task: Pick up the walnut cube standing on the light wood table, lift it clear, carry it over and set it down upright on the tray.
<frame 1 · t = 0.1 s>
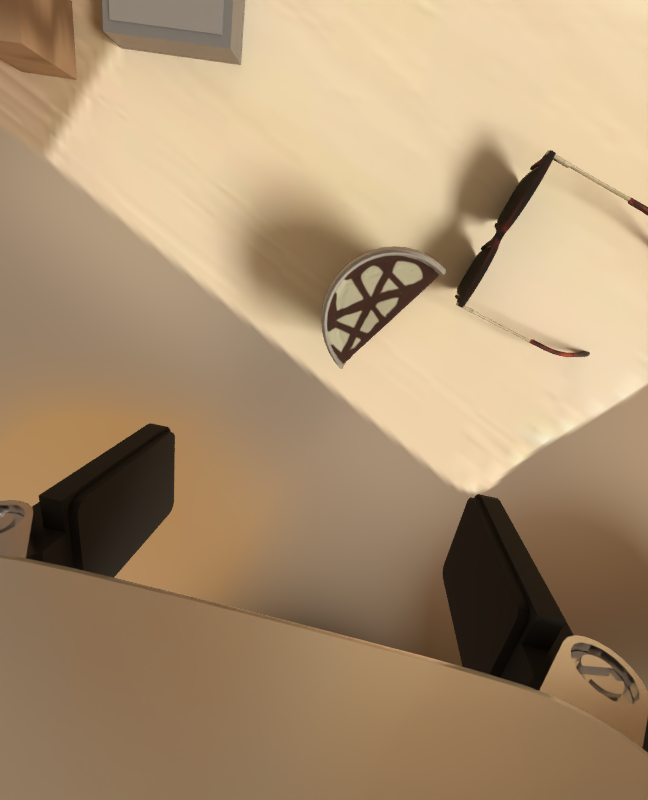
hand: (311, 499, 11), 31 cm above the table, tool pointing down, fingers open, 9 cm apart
food container: (367, 291, 39), on the table
cube: (46, 38, 35), on the table
sunglasses: (552, 273, 36), on the table
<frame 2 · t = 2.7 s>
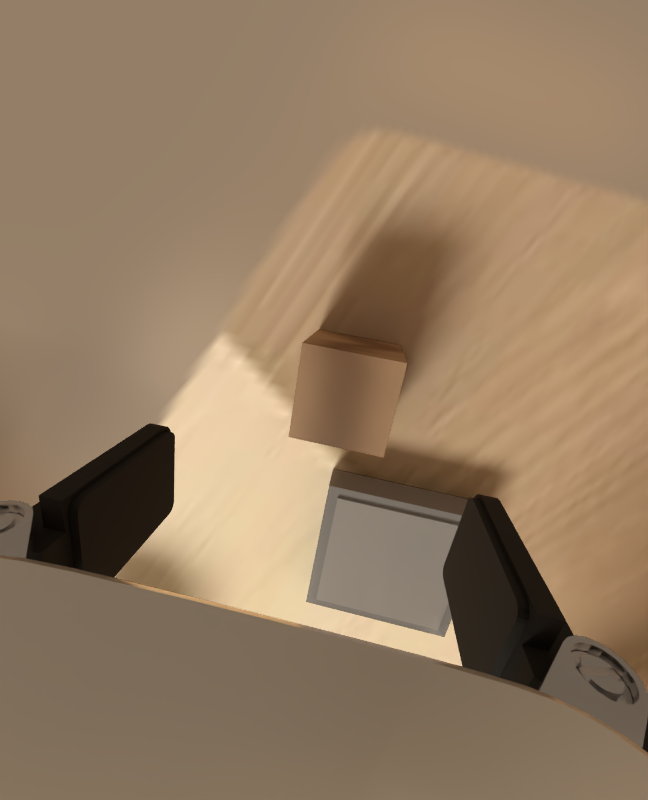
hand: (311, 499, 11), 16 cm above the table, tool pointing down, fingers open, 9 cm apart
tray: (389, 543, 31), on the table
cube: (351, 376, 26), on the table
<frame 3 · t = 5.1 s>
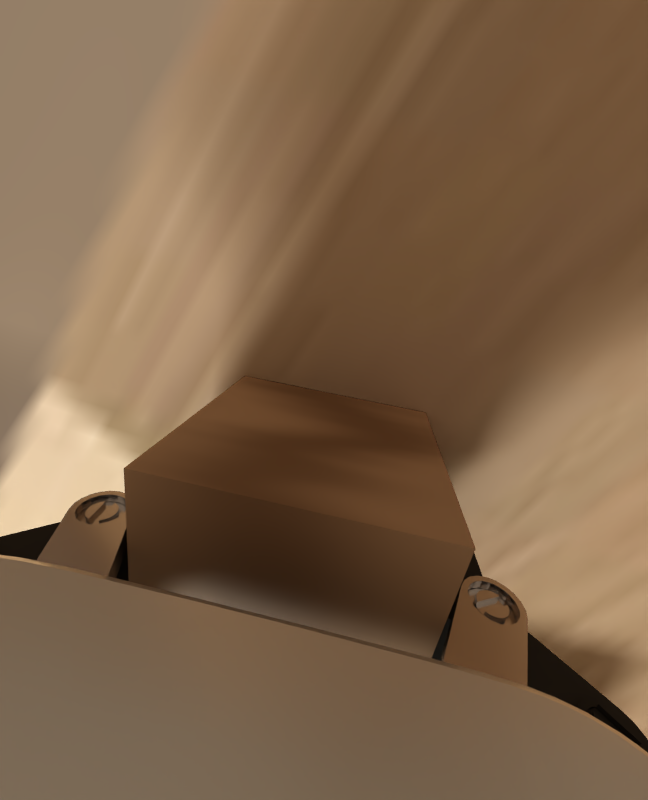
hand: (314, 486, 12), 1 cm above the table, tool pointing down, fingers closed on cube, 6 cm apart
cube: (319, 472, 12), on the table, touching gripper
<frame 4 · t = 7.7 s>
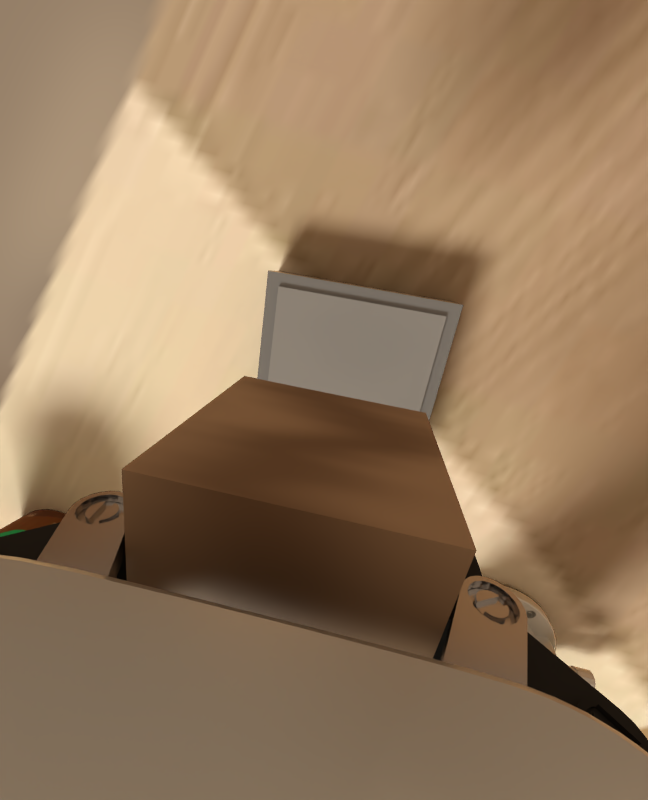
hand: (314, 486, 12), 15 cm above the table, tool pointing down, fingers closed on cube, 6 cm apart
food container: (74, 532, 35), on the table
tray: (348, 371, 26), on the table
cube: (318, 472, 12), point 14 cm above the table, touching gripper
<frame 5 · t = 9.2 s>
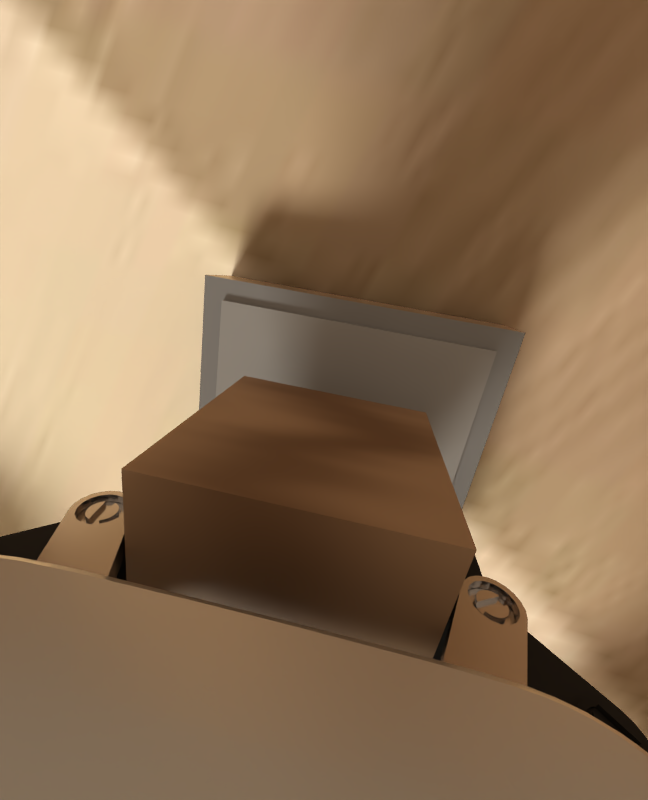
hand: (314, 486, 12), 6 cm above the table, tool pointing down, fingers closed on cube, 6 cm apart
tray: (338, 423, 17), on the table
cube: (318, 472, 12), point 5 cm above the table, touching gripper
when the fingers open (5 cm above the table, at t = 10.4 s): cube stays where it is, resting on tray.
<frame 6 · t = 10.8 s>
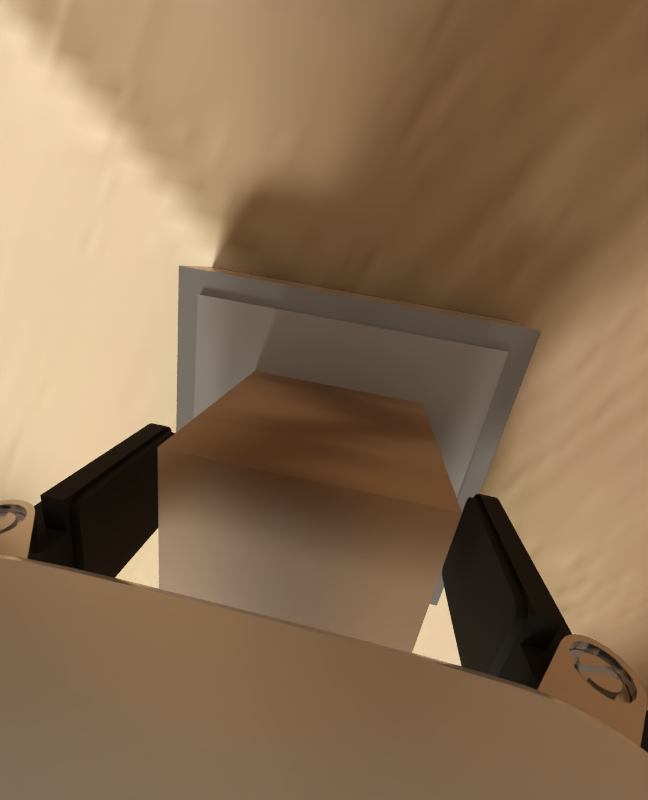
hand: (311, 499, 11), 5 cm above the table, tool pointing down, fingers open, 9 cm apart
tray: (331, 429, 16), on the table
cube: (323, 460, 13), point 3 cm above the table, touching tray
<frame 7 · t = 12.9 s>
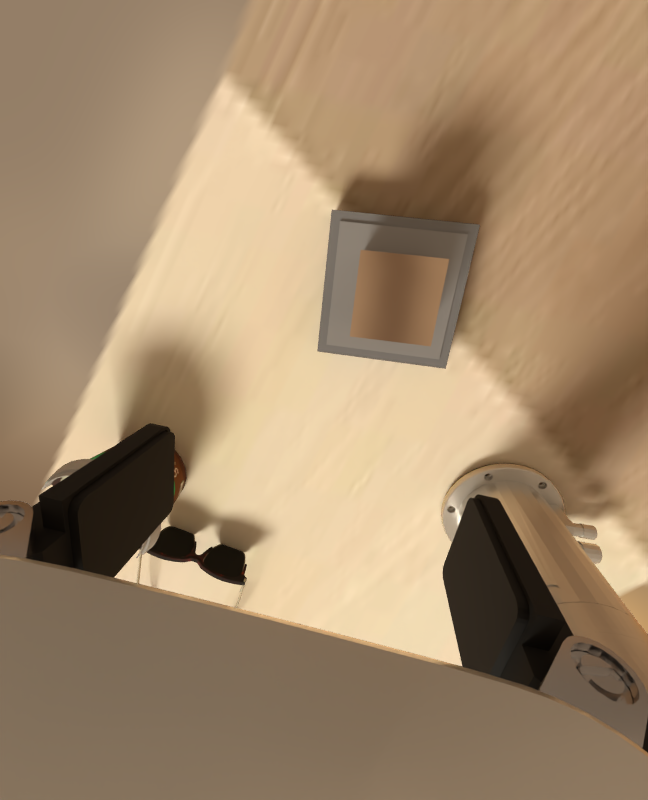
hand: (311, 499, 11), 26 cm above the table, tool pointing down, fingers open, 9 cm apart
food container: (163, 454, 43), on the table
tray: (390, 291, 33), on the table
cube: (392, 294, 31), point 3 cm above the table, touching tray
sunglasses: (198, 576, 50), on the table
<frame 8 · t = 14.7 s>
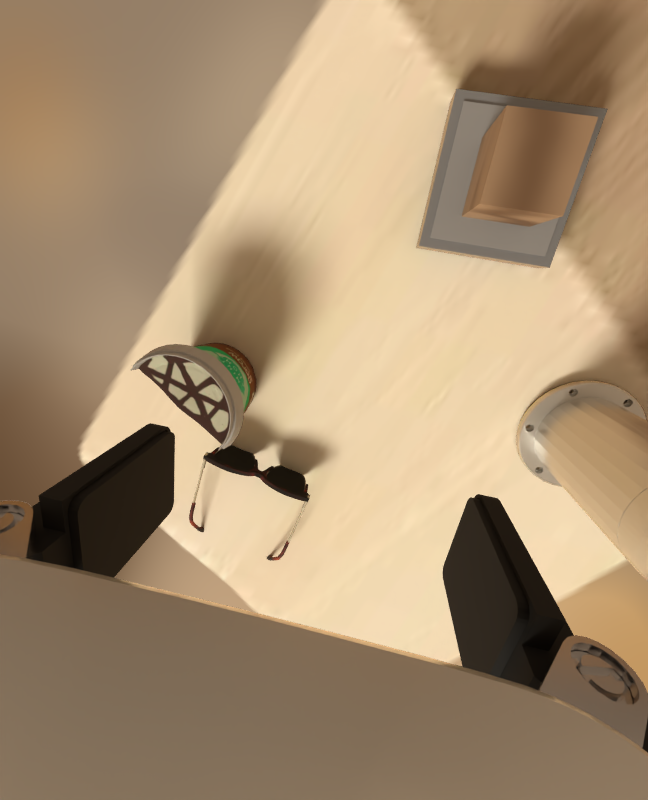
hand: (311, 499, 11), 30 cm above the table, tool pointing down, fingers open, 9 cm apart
food container: (234, 365, 43), on the table
tray: (496, 189, 33), on the table
cube: (506, 183, 30), point 3 cm above the table, touching tray
sunglasses: (251, 502, 50), on the table
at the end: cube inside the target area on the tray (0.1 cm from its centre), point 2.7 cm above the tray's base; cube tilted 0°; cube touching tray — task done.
